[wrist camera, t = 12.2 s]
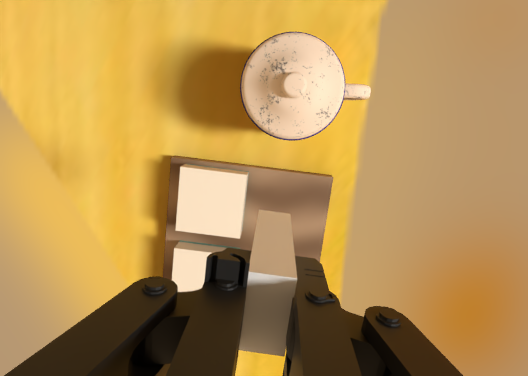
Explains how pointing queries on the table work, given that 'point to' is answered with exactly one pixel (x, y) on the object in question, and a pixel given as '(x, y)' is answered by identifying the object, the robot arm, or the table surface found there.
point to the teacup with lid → (295, 86)
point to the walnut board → (260, 207)
